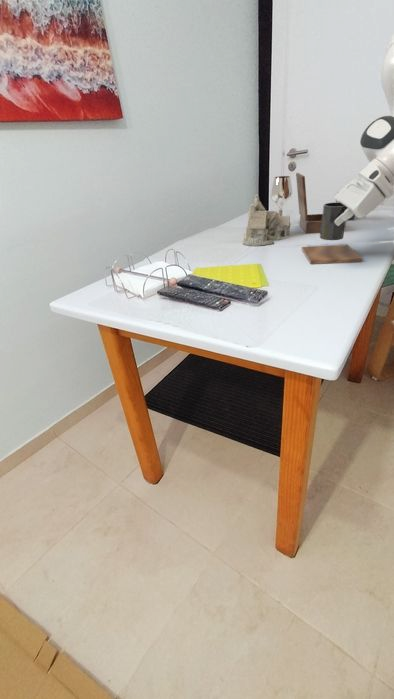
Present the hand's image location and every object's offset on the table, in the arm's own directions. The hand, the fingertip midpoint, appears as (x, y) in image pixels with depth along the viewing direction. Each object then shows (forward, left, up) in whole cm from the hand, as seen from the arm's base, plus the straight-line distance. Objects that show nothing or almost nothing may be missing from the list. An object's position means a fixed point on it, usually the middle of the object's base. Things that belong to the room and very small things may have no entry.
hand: (331, 220), depth 96 cm
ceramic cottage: (+16, -21, -10) cm, 28 cm away
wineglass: (+9, -40, -10) cm, 42 cm away
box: (-17, -44, -10) cm, 48 cm away
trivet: (-1, 0, -10) cm, 10 cm away
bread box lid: (+3, -30, +2) cm, 30 cm away
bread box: (-5, -30, -10) cm, 32 cm away
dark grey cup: (-1, 0, -5) cm, 5 cm away
